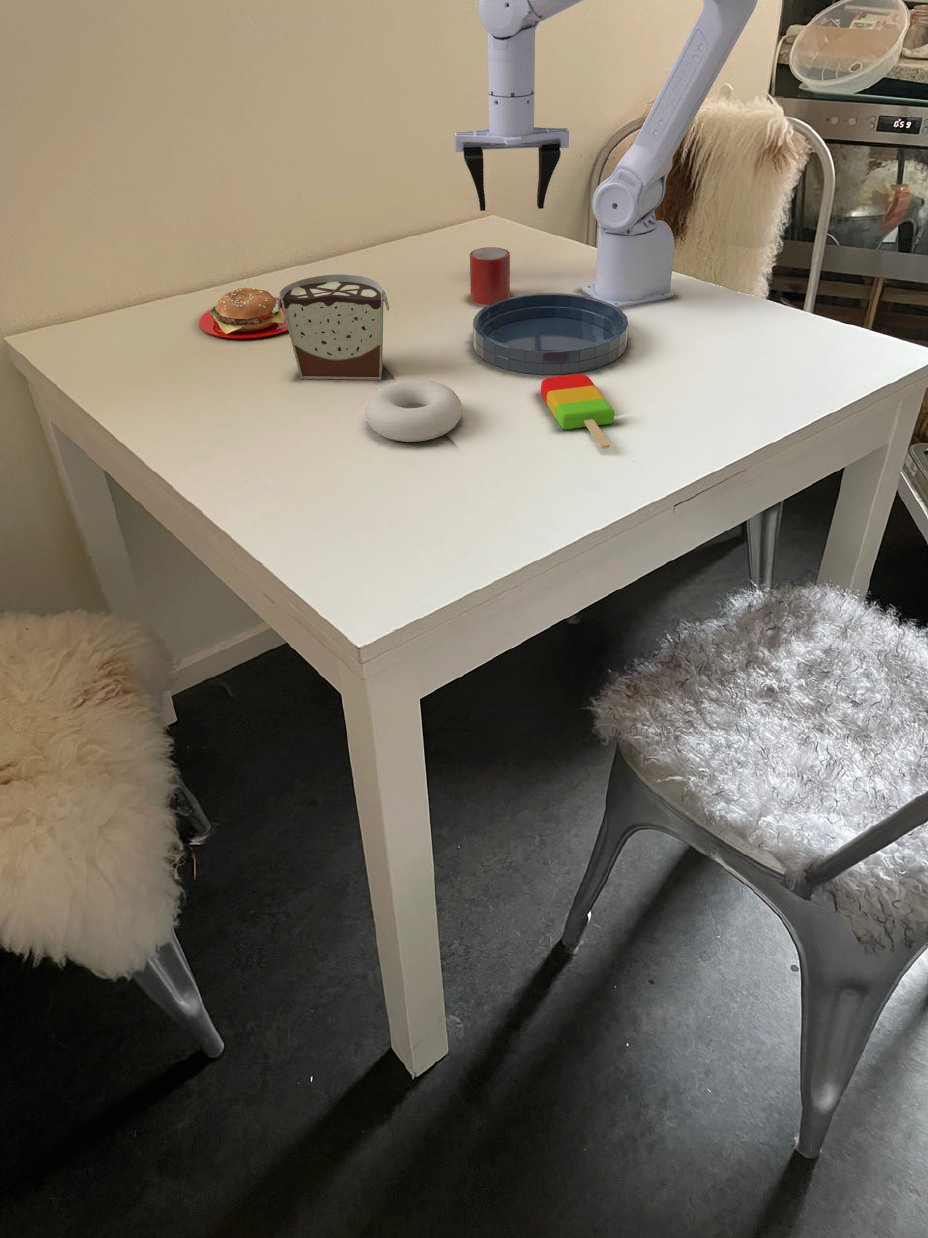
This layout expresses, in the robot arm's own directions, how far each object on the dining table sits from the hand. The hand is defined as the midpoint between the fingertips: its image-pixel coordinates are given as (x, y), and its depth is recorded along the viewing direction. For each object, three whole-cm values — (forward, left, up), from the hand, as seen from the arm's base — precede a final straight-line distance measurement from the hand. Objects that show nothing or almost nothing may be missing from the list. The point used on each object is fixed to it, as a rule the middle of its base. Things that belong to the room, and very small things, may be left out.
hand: (511, 207), depth 128 cm
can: (+6, +6, -9) cm, 13 cm away
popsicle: (+12, +42, -10) cm, 45 cm away
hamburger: (+36, -2, -10) cm, 37 cm away
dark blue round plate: (+6, +23, -9) cm, 26 cm away
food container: (+30, +18, -10) cm, 36 cm away
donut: (+28, +35, -10) cm, 46 cm away
